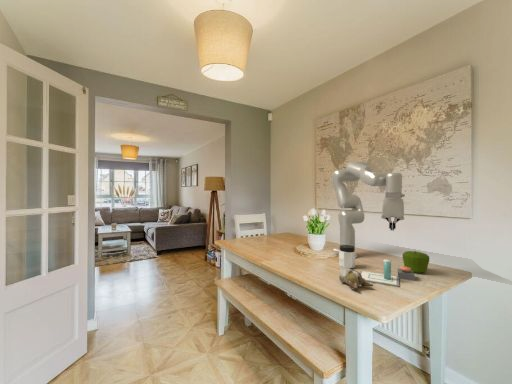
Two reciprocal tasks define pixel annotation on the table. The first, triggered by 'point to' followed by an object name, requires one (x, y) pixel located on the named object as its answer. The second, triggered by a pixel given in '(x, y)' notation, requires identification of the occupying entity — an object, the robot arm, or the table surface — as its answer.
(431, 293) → the table surface
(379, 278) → the white flat board
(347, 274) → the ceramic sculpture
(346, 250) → the jar
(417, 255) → the apple
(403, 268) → the button
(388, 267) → the marker
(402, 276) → the button housing
